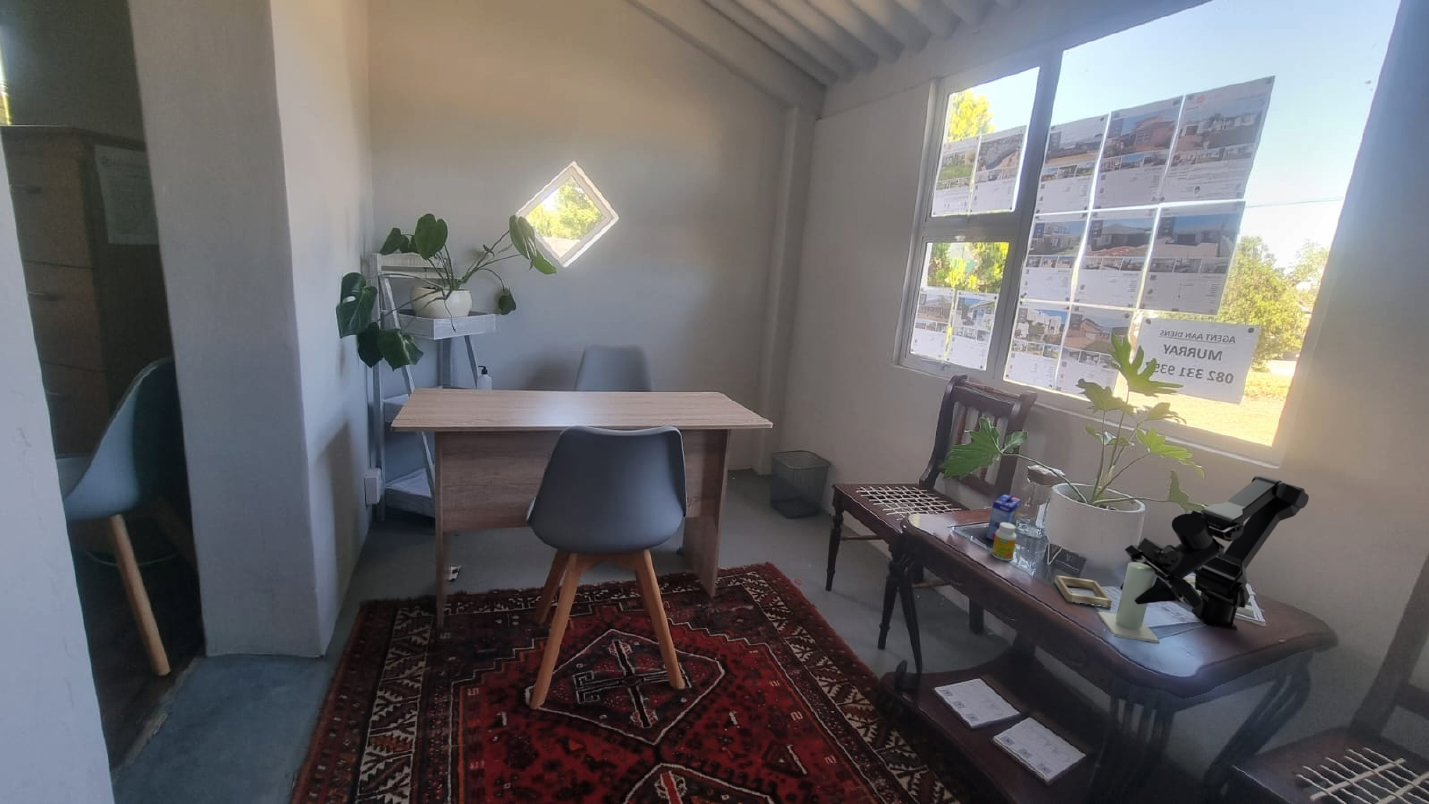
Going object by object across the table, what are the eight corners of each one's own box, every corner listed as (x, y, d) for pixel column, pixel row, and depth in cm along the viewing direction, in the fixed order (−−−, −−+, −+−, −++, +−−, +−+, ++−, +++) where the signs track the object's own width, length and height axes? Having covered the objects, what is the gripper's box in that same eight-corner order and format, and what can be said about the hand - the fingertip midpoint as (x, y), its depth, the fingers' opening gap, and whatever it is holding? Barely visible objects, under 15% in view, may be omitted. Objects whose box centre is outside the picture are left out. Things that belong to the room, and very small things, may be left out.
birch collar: (1094, 587, 152) (1095, 580, 152) (1110, 608, 143) (1112, 600, 142) (1054, 581, 154) (1055, 575, 153) (1067, 601, 145) (1069, 594, 144)
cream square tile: (1139, 619, 138) (1139, 617, 138) (1158, 642, 130) (1159, 640, 130) (1097, 613, 140) (1097, 611, 140) (1114, 636, 132) (1114, 633, 132)
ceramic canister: (1135, 617, 137) (1148, 563, 133) (1146, 630, 132) (1159, 574, 129) (1111, 614, 138) (1124, 560, 134) (1121, 626, 133) (1134, 571, 130)
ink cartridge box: (1004, 544, 174) (1012, 499, 171) (985, 538, 178) (993, 494, 174) (1015, 535, 181) (1023, 491, 178) (996, 529, 185) (1004, 486, 181)
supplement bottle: (993, 558, 165) (998, 527, 163) (990, 550, 170) (996, 519, 168) (1013, 562, 163) (1019, 531, 161) (1010, 554, 168) (1016, 523, 166)
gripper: (1141, 513, 138) (1084, 552, 141) (1200, 550, 120) (1134, 594, 123) (1167, 545, 140) (1111, 583, 143) (1230, 587, 122) (1164, 630, 125)
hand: (1128, 596), depth 133 cm, fingers closed on ceramic canister, 5 cm apart
